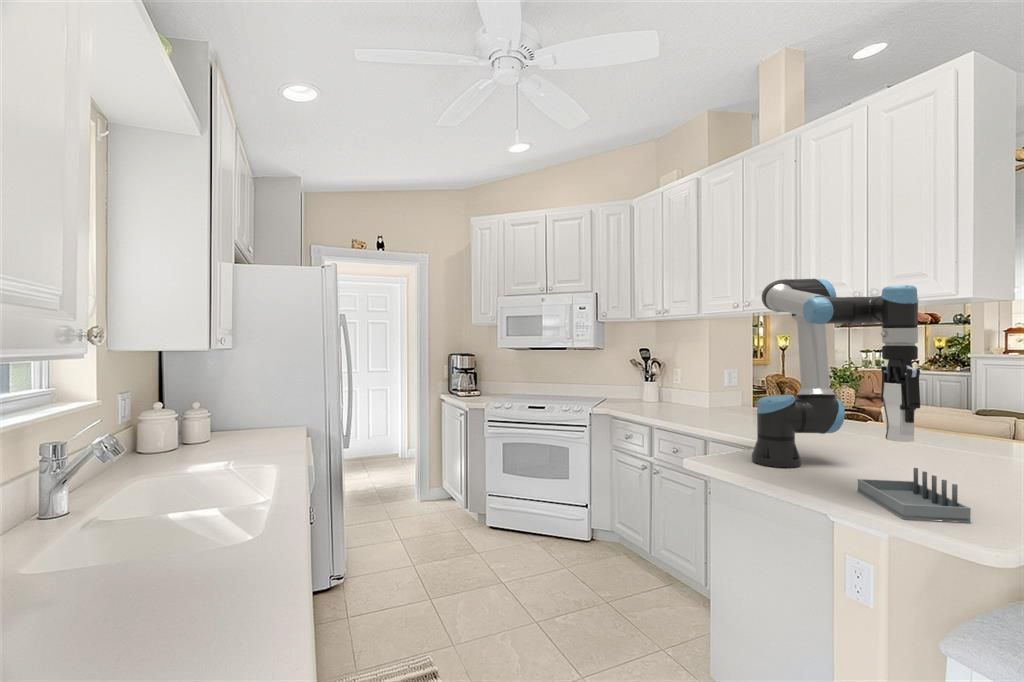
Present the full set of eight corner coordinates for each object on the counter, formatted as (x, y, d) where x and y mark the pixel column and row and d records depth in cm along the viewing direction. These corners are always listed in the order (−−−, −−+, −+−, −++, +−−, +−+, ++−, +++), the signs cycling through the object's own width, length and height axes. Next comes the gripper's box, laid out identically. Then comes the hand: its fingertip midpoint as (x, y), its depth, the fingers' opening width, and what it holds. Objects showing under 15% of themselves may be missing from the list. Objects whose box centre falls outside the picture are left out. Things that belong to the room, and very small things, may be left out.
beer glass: (922, 443, 131) (922, 384, 131) (891, 442, 133) (891, 383, 133) (907, 437, 138) (907, 381, 138) (878, 437, 140) (878, 381, 139)
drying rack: (857, 491, 146) (857, 463, 146) (913, 493, 143) (913, 465, 143) (903, 519, 123) (903, 486, 123) (970, 523, 121) (970, 488, 121)
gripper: (865, 344, 146) (865, 426, 146) (904, 345, 127) (904, 439, 127) (895, 344, 144) (895, 426, 144) (938, 345, 125) (939, 440, 125)
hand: (899, 432), depth 135 cm, fingers closed on beer glass, 6 cm apart
